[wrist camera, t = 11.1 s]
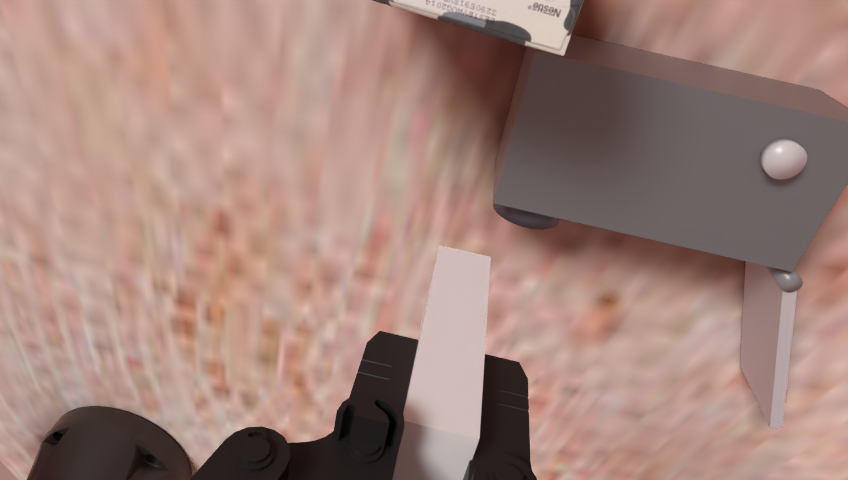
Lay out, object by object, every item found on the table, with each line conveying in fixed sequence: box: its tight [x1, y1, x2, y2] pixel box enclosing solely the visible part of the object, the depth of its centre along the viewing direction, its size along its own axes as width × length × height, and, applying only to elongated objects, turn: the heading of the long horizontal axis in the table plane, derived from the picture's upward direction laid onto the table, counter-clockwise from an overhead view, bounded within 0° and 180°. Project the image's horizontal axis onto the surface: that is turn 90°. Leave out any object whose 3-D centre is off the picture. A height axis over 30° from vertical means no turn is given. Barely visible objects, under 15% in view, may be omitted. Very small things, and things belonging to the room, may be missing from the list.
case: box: [493, 34, 848, 272], centre depth 36 cm, size 18×11×8 cm, turn 79°
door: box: [740, 262, 802, 428], centre depth 41 cm, size 13×2×7 cm, turn 12°
